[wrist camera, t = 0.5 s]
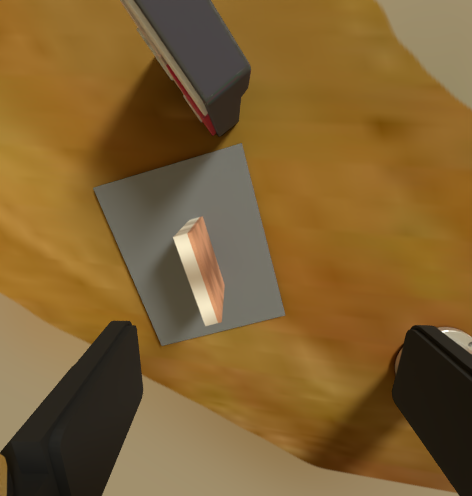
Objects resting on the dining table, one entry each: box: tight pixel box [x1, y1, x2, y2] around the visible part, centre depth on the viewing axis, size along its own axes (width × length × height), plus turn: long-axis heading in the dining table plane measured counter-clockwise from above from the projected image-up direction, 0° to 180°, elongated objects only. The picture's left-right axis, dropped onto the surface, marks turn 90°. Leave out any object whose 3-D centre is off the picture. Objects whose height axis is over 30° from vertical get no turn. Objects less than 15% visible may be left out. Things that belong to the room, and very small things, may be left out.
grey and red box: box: [120, 0, 251, 137], centre depth 21 cm, size 11×4×15 cm, turn 36°
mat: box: [93, 143, 285, 346], centre depth 34 cm, size 24×19×1 cm
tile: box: [173, 216, 225, 326], centre depth 29 cm, size 10×2×9 cm, turn 16°
